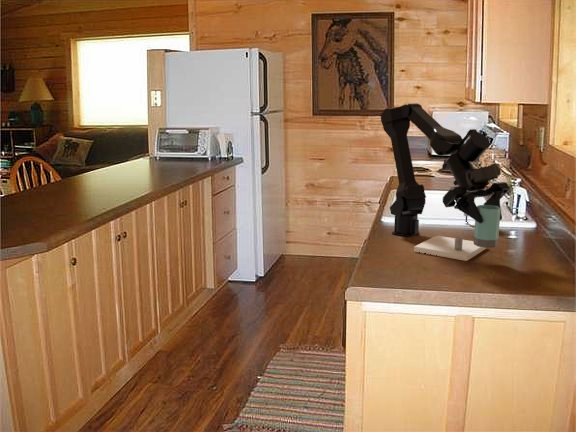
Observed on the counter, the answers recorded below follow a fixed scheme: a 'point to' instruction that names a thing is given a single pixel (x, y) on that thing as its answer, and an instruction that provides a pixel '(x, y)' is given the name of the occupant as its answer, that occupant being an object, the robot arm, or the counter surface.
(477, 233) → the teal faceted cylinder
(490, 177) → the robot arm
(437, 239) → the pin board
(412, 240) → the counter surface
